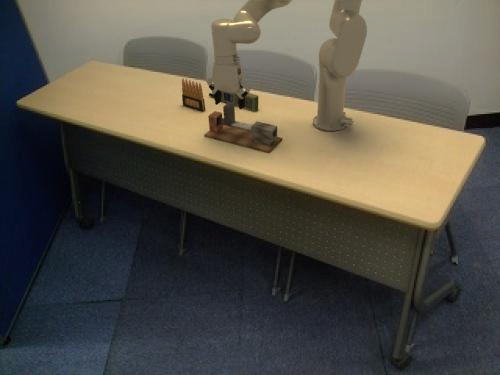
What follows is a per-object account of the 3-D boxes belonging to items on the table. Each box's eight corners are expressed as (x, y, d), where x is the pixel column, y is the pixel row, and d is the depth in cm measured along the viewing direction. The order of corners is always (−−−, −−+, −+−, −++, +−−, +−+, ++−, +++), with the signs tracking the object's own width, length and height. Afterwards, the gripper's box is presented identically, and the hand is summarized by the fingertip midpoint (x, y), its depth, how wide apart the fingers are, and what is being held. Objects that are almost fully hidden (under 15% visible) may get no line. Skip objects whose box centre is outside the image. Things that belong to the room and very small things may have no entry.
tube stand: (282, 140, 170) (282, 122, 166) (269, 153, 163) (269, 135, 159) (219, 125, 181) (217, 107, 177) (204, 136, 174) (203, 119, 170)
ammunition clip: (205, 110, 192) (203, 82, 185) (202, 112, 191) (200, 83, 184) (185, 104, 197) (182, 76, 190) (182, 105, 196) (179, 78, 189)
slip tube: (264, 131, 168) (263, 110, 163) (259, 136, 166) (259, 114, 161) (217, 120, 176) (215, 99, 171) (212, 124, 174) (210, 103, 169)
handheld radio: (254, 113, 189) (206, 98, 201) (259, 110, 191) (211, 96, 204) (254, 97, 185) (206, 83, 198) (259, 94, 187) (211, 81, 200)
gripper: (254, 57, 157) (256, 105, 167) (210, 51, 164) (215, 97, 174) (243, 65, 151) (246, 114, 161) (197, 58, 159) (203, 105, 169)
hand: (230, 105), depth 168 cm, fingers open, 9 cm apart
